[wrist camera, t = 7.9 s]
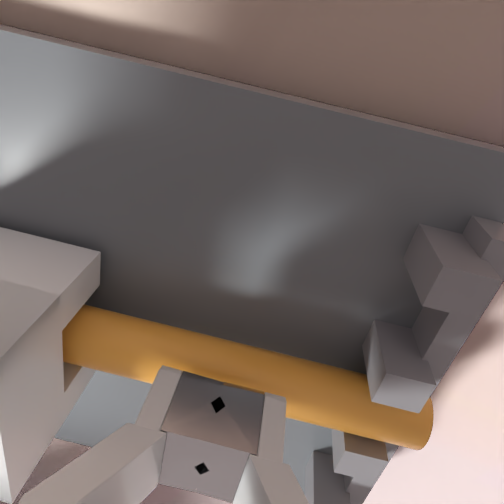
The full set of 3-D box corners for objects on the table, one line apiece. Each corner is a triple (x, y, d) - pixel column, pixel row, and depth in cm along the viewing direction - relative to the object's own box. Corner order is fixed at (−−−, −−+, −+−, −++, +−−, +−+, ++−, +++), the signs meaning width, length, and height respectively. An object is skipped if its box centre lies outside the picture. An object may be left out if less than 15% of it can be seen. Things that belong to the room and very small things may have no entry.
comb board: (-187, -22, 9) (-455, -50, 6) (522, 151, 9) (639, 218, 6) (-73, 385, 16) (-170, 476, 13) (335, 488, 16) (342, 605, 13)
